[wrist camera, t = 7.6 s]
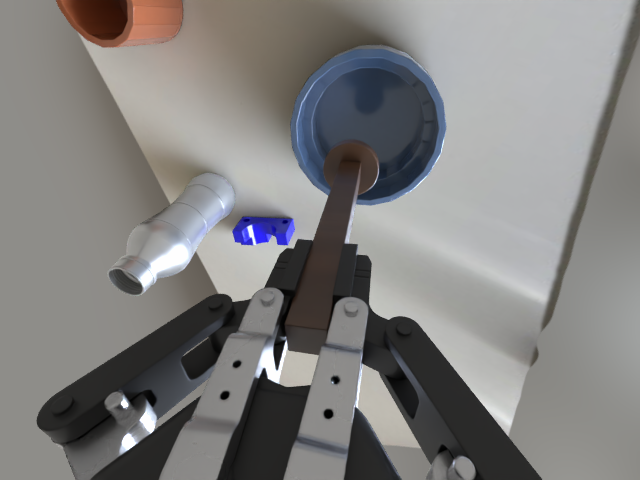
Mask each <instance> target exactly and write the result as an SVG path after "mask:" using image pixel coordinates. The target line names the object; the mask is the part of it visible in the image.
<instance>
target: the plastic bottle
mask: <svg viewBox="0 0 640 480" xmlns="http://www.w3.org/2000/svg"><path fill="white" fill-rule="evenodd" d="M234 204H235V193H234V190H233V188H232V186H231V185H230V183H229V182H228V181H227V180H226V179H225V178H223V177H222V176H219V175H217V174H213V173H203V174H201V175H198V176H196V177H194V178H193V179H192V180H191V181H190V182H189V184H188V185H187V186H186V188H185V190H184V191H183V192H182V194H181V195H180V196H179V197H178V198H177V199H176V200H175V201H174V202H173V203H172V204H171V205H169V206H168V207H167V208H165V209H164V210H163V211H161V212H160V213H158V214H156V215H155V216H153V217H152V218H149V219H148V220H146V221H144V222H142V223H141V224H140V225H138V226H137V227H135V228H134V229H133V231H132V232H131V234H130V236H129V238H128V242H127V255H125V256H122V257H121V258H120V259H119V260H118V261H117V263H116V264H115V265H114V266H112V267H111V268H110V269H109V270H108V272H107V276H108V279H109V280H110V282H111V283H112V284H113V285H114V286H115V287H116V288H117V289H118V290H120V291H121V292H123V293H125V294H128V295H132V296H140V295H141V294H143V293H144V292H145V291H146V290H147V289H148V288H149V287H151V286H152V285H153V284H154V283H155V282H156V280H157V278H162V277H167V276H171V275H175V274H177V273H179V272H180V271H182V270H183V269H184V268H185V267H186V266H187V265H188V263H189V262H190V260H191V258H192V256H193V254H194V252H195V251H196V249H197V247H198V245H199V244H200V242H201V241H202V240H203V238H204V236H205V235H206V234H207V233H208V231H209V230H210V229H211V228H212V227H214V226H215V225H216V224H217V223H218V222H219V221H221V220H222V219H224V218H225V217H226V216H227V215H229V214H230V212H231V211H232V209H233V207H234Z"/></svg>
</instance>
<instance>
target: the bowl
mask: <svg viewBox="0 0 640 480" xmlns="http://www.w3.org/2000/svg"><path fill="white" fill-rule="evenodd" d="M290 123H291V124H290V128H291V141H292V148H293V151H294V153H295V156H296V159H297V161H298V164H299V166H300V168H301V169H302V171H303V172H304V173H305V175H306V176H307V177H308V179H309V180H310V181H311V182H312V184H313V185H314V186H316V187H317V188H318V189H320V190H321V191H323V192H324V193H325V194H327V195H328V196H329V193H330V190H331V187H330V186H329V184H328V183H327V181H326V179H325V177H324V173H323V165H324V161H325V158H326V156H327V154H328V152H329V151H330V149H331V148H332V147H333V146H334V145H336V144H337V143H339V142H341V141H344V140H350V139H353V140H359V141H362V142H364V143H366V144H368V145H369V146H370V147H371V148H372V149H373V150H374V151H375V153H376V154H377V157H378V160H379V174H378V178H377V180H376V182H375V184H374V185H373V186H372V187H371V188H370V189H369V190H368V191H366V192H365V193H362V194H360V195H357V200H356V204H358V205H376V204H380V203H385V202H390V201H393V200H395V199H397V198H399V197H400V196H402V195H404V194H406V193H408V192H410V191H412V190H413V189H414V188H415V187H416V186H417V185H418V184H419V183H420V182H421V181H422V180H423V179H424V178H426V177H427V176H428V175H429V173H430V172H431V170H432V168H433V166H434V164H435V163H436V161H437V159H438V157H439V156H440V154H441V151H442V146H443V141H444V137H445V132H446V120H445V112H444V104H443V100H442V98H441V96H440V94H439V92H438V90H437V88H436V86H435V84H434V82H433V80H432V78H431V77H430V75H429V74H428V73H427V71H426V70H425V69H424V68H423V67H422V66H421V65H420V64H419V63H417V62H416V61H415V60H414V59H413V58H412V57H411V56H410V55H409V54H407V53H405V52H402V51H400V50H397V49H394V48H392V47H389V46H386V45H361V46H357V47H355V48H352V49H349V50H347V51H344V52H342V53H339V54H337V55H336V56H334V57H333V58H331V59H329V60H328V61H327V62H326V63H325V64H324V65H322V66H321V67H320V68H319V69H318V70H317V71H315V72H314V73H313V74H312V75H311V76H310V77H309V78H308V80H307V81H306V83H305V85H304V86H303V88H302V90H301V91H300V93H299V95H298V96H297V98H296V100H295V105H294V109H293V114H292V118H291V122H290Z"/></svg>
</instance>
